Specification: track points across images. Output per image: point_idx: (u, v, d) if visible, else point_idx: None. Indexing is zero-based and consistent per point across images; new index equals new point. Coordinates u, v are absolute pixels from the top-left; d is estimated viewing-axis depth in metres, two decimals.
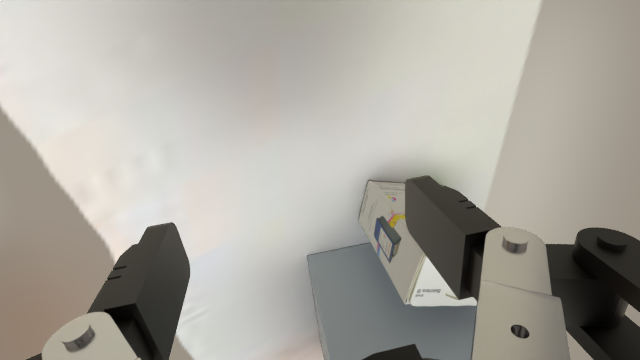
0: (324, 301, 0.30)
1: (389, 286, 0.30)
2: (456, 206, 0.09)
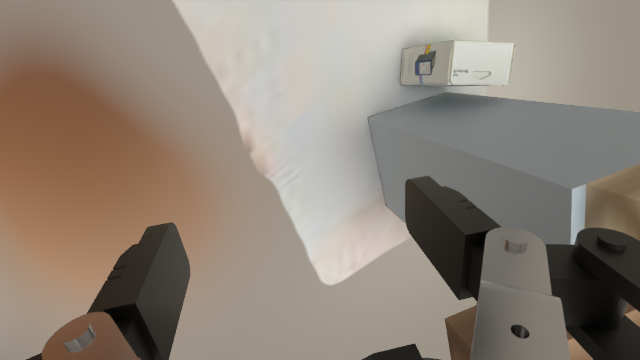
0: (391, 122, 0.43)
1: (432, 108, 0.44)
2: (456, 206, 0.09)
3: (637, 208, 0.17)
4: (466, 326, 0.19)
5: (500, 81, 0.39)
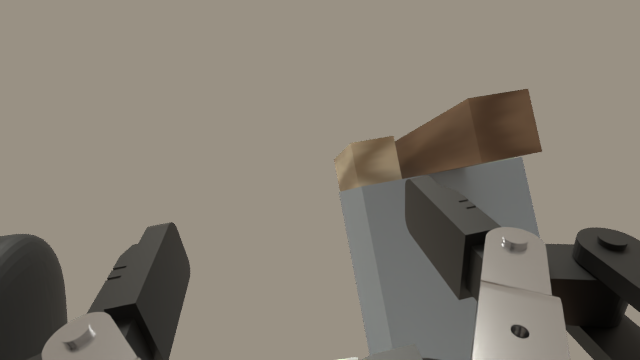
0: None
1: None
2: (456, 206, 0.09)
3: (358, 156, 0.30)
4: (471, 147, 0.21)
5: None
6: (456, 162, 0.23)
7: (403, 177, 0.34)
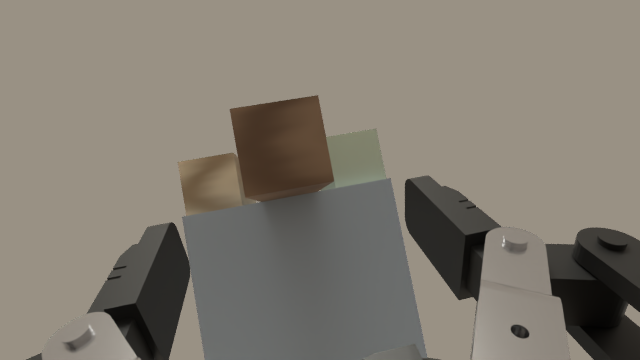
0: None
1: None
2: (456, 206, 0.09)
3: (186, 178, 0.24)
4: None
5: None
6: None
7: None
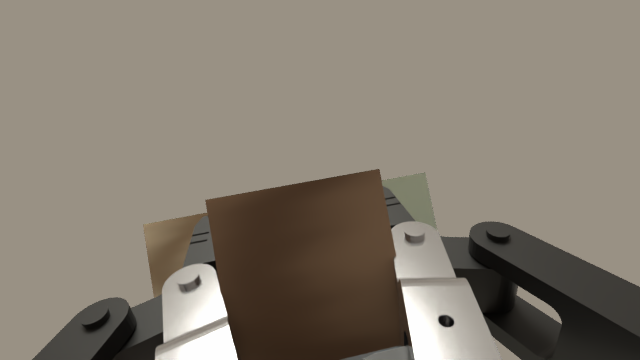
0: None
1: None
2: None
3: (156, 248, 0.17)
4: None
5: None
6: None
7: None
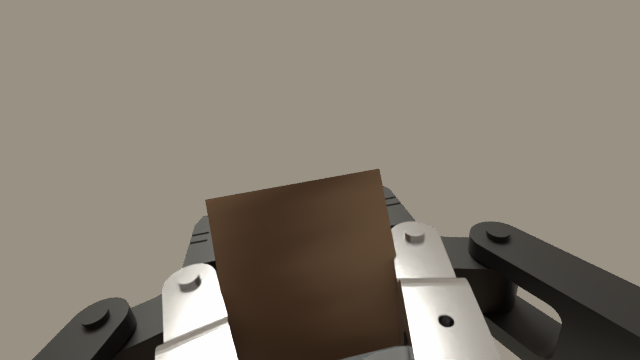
0: None
1: None
2: None
3: None
4: None
5: None
6: None
7: None
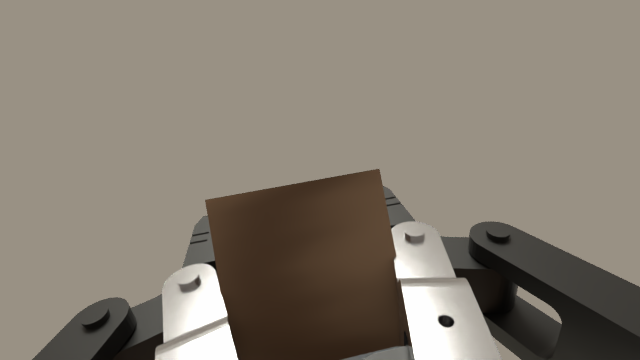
0: None
1: None
2: None
3: None
4: None
5: None
6: None
7: None
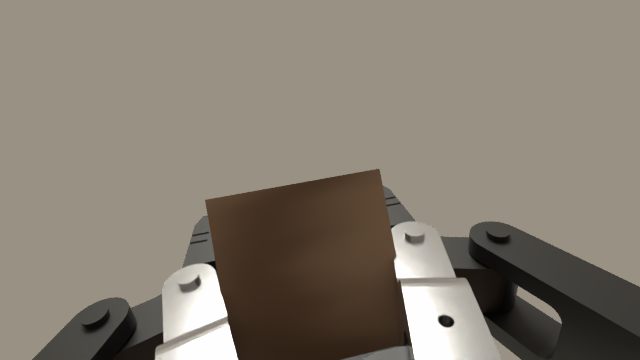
0: None
1: None
2: None
3: None
4: None
5: None
6: None
7: None
